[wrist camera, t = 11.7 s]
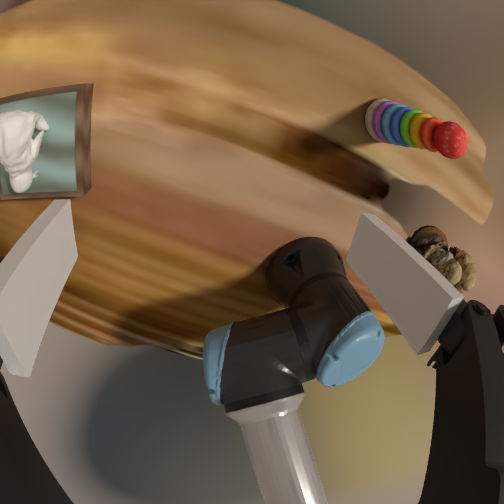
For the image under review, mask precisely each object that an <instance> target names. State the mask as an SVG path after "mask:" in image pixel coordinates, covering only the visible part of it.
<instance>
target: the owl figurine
mask: <svg viewBox="0 0 504 504" xmlns="http://www.w3.org/2000/svg"><path fill="white" fill-rule="evenodd" d="M408 244H409V245H410V246H412V247H413V248H414V249H415V250H416V251H417V252H418V253H419V254H420V255H422V256H423V257H424V258H425V259H426V260H427V261H428V262H429V263H430V264H431V265H432V266H433V267H434V268H435V269H437V270H438V271H439V272H440V273H441V274H442V275H443V276H444V277H445V278H446V279H447V280H448V281H449V282H450V283H451V284H452V285H453V286H454V287H455V288H456V289H457V290H458V291H459V292H460V293H462V292H464V291H469V290H470V289H472V287H473V285H474V284H475V278H476V271H475V268H474V262H473V259H472V257H471V256H470V255H469V254H467V253H466V252H465V251H464V250H463V251H461V250H460V249H458V248H457V247H454V248H453V247H450V249H449V250H450V251H448V248H447V247H448V243H447V239H446V236H445V235H444V233H443V232H442V231H441V230H439V229H438V228H436V227H434V226H424V227H421V228H419V229H418V230H416V231H415V233H414V234H413V236H412V237H411V239H410V240H409V242H408Z"/></svg>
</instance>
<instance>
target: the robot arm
mask: <svg viewBox="0 0 504 504" xmlns="http://www.w3.org/2000/svg"><path fill="white" fill-rule="evenodd" d="M77 258H78V254H77V248H76V242H75V235H74V228H73V220H72V212H71V203H70V199H62V200H54V201H53V202H52V203H51V204H50V205H49V206H48V207H47V208H46V209H45V210H44V212H43V213H42V214H41V215H40V216H39V217H38V218H37V219H36V220H35V221H34V223H33V224H32V225H31V226H30V227H29V228H28V229H27V231H26V232H25V233H24V234H23V235H22V236H21V238H20V239H19V240H18V241H17V243H16V244H15V245H14V246H13V248H12V249H11V250H10V251H9V253H8V254H7V255H6V256H5V258H1V259H0V369H1V366H2V363H3V362H4V364H5V366H6V367H7V369H8V370H9V372H10V373H11V374H14V375H19V376H23V377H28V378H30V375H31V372H32V368H33V365H34V362H35V359H36V356H37V353H38V350H39V347H40V344H41V341H42V339H43V336H44V333H45V330H46V328H47V325H48V323H49V320H50V317H51V315H52V313H53V310H54V308H55V305H56V303H57V301H58V298H59V296H60V294H61V291H62V289H63V287H64V285H65V283H66V280H67V278H68V276H69V274H70V272H71V270H72V268H73V266H74V264H75V262H76V260H77ZM346 262H347V263H348V264H349V266H350V267H351V268H352V269H353V271H354V272H355V273H356V274H357V276H358V277H359V278H360V279H361V281H362V282H363V283H364V284H365V286H366V287H367V288H368V290H369V291H370V292H371V293H372V295H373V296H374V297H375V299H376V300H377V301H378V302H379V304H380V305H381V306H382V308H383V309H384V310H385V312H386V313H387V314H388V316H389V317H390V318H391V320H392V321H393V322H394V324H395V325H396V326H397V328H398V329H399V331H400V332H401V333H402V335H403V336H404V337H405V339H406V340H407V341H408V343H409V344H410V346H411V347H412V349H413V350H414V351H415V353H416V354H417V355H419V354H422V353H425V352H428V351H430V349H431V348H432V346H433V345H434V343H435V342H436V341H437V340H438V341H439V343H440V344H441V345H440V346H439V348H438V349H437V351H436V352H435V353H434V355H433V356H432V357H431V359H430V360H429V362H428V364H427V366H430V365H431V363H432V362H433V361H436V363H435V364H434V365H433V367H432V368H435V369H436V397H435V411H434V423H433V432H432V440H431V447H430V454H429V460H428V466H427V471H426V476H425V481H424V486H423V491H422V495H421V498H420V501H419V503H418V504H504V354H503V352H502V346H503V345H504V305H500V306H499V307H498V309H497V310H496V312H495V314H491V312H490V310H489V309H488V308H487V307H486V306H485V305H483V304H482V303H480V302H478V301H476V300H470V301H469V302H468V303H466V302H465V300H463V297H464V296H463V295H462V294H461V293H460V292H459V291H458V290H457V289H456V288H455V287H454V286H453V285H452V284H451V283H450V282H449V281H448V280H447V279H446V278H445V277H444V276H443V275H442V274H441V273H440V272H439V271H438V270H437V269H435V268H434V267H433V266H432V265H431V264H430V263H429V262H428V261H427V260H426V259H425V258H424V257H423V256H422V255H420V254H419V253H418V252H417V251H416V250H415V249H414V248H413V247H412V246H410V245H409V244H408V243H407V242H406V241H405V240H404V239H402V238H401V237H400V236H399V235H398V234H397V233H395V232H394V231H393V230H392V229H391V228H390V227H388V226H387V225H386V224H385V223H384V222H382V221H381V220H380V219H379V218H377V217H376V216H375V215H374V214H368V213H361V216H360V219H359V222H358V225H357V228H356V231H355V235H354V238H353V241H352V244H351V247H350V250H349V252H348V255H347V258H346ZM266 283H267V286H268V289H269V291H270V294H271V295H272V297H273V298H274V300H275V301H276V302H278V303H279V304H280V305H282V306H283V307H284V308H285V309H283V310H279V311H276V312H272V313H269V314H265V315H262V316H258V317H254V318H251V319H247V320H243V321H239V322H231V323H230V324H228V325H225V326H222V327H218V328H215V329H213V330H211V331H210V332H209V333H208V334H207V335H206V337H205V340H204V346H203V365H204V374H205V380H206V385H207V388H208V391H209V396H210V399H211V401H212V402H213V403H214V404H215V405H219V406H222V405H223V404H224V407H225V411H226V415H227V416H229V417H230V418H232V419H234V420H236V421H237V422H238V423H239V424H240V425H241V429H242V432H243V436H244V439H245V442H246V446H247V449H248V452H249V455H250V459H251V462H252V465H253V468H254V472H255V475H256V478H257V481H258V484H259V487H260V490H261V493H262V496H263V499H264V502H265V504H328V501H327V498H326V495H325V492H324V489H323V486H322V482H321V479H320V476H319V473H318V469H317V466H316V463H315V460H314V457H313V454H312V450H311V447H310V444H309V441H308V438H307V434H306V431H305V428H304V425H303V422H302V418H301V415H300V412H299V405H300V403H301V401H302V399H303V397H304V395H305V393H304V389H303V386H302V383H303V382H305V381H309V380H312V379H315V378H317V380H318V381H319V382H320V383H321V384H322V385H324V386H328V387H330V386H339V385H342V384H344V383H347V382H349V381H350V380H352V379H354V378H355V377H357V376H359V375H360V374H361V373H362V372H364V371H365V370H366V369H367V368H368V367H369V366H370V365H371V364H372V363H373V362H374V361H375V359H376V358H377V357H378V355H379V354H380V352H381V350H382V347H383V344H384V332H383V329H382V327H381V326H380V324H379V322H378V320H377V319H376V316H375V314H374V313H373V312H372V311H371V310H370V309H369V307H368V306H367V305H366V303H365V302H364V301H363V299H362V298H361V297H360V295H359V294H358V293H357V291H356V290H355V289H354V287H353V286H352V285H351V283H350V282H349V281H348V279H347V277H346V273H345V269H344V265H343V261H342V258H341V256H340V254H339V252H338V251H337V250H336V248H335V247H334V246H333V245H332V244H331V243H330V242H328V241H327V240H324V239H322V238H317V237H306V238H301V239H298V240H295V241H293V242H291V243H289V244H287V245H286V246H284V247H283V248H282V249H280V250H279V251H278V252H277V253H276V254H275V256H274V257H273V258H272V260H271V262H270V263H269V266H268V268H267V272H266ZM0 504H74V503H73V502H72V501H71V500H70V498H69V497H68V496H67V494H66V493H65V492H64V490H63V489H62V487H61V486H60V485H59V483H58V481H57V480H56V479H55V477H54V476H53V474H52V472H51V471H50V470H49V468H48V466H47V465H46V463H45V462H44V460H43V458H42V457H41V455H40V453H39V451H38V450H37V448H36V446H35V444H34V442H33V441H32V439H31V437H30V435H29V433H28V431H27V429H26V427H25V425H24V423H23V421H22V419H21V417H20V415H19V413H18V411H17V408H16V406H15V404H14V402H13V399H12V397H11V394H10V392H9V389H8V387H7V384H6V382H5V379H4V377H3V375H2V374H1V372H0Z"/></svg>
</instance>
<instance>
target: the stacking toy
mask: <svg viewBox="0 0 504 504" xmlns="http://www.w3.org/2000/svg"><path fill="white" fill-rule="evenodd" d="M365 125H366V128H367V131H368V133H369V134H370V135H371V137H372V138H374V139H375V140H377V141H379V142H382V143H389V144H395V145H401V146H404V147H414V148H420V149H427V150H429V151H432V152H437V151H439V152H440V153H441V154H442V155H443V156H445V157H447V158H450V159H457V158H460V157H461V156H463V155H464V153H465V152H466V150H467V147H468V138H467V135H466V133H465V131H464V129H463V128H462V127H461V126H460V125H458V124H457V123H454V122H442V121H441V120H440V119H438V118H436V117H432V116H431V115H429V114H427V113H423V112H422V111H420V110H416V109H413V108H411V107H407V106H405V105H403V104H399V103H398V102H395V101H391V100H389V99H378V100H375V101H374V102H373V103H372V104H371V105H370V106H369V107H368V109H367V111H366V115H365Z"/></svg>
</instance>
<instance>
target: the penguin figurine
mask: <svg viewBox="0 0 504 504" xmlns="http://www.w3.org/2000/svg"><path fill="white" fill-rule="evenodd" d="M35 127H36V129H37V130H40V131H41V132H40V133H39V134H38V135H37V136H36V138H35V139H34V140H32V135H33V132H34V129H35ZM48 129H49V125H48V124H47V122H46V121H45V119H44V118H43V116H42V115H41V114H39V113H35V112H33V111H29V112H25V111H24V112H23V111H21V110H16V111H10V112H5V113H1V114H0V163H1V164H2V165H3V166H4V168H5V170H6V171H7V172H8V173H9V175H10V177H9V180H10V185H11V187H12V189H13V191H15V192H16V193H23V192H25V191H26V190H28V189H29V188H30V186H31V184H32V180H33V178H34V177H37V175H36V172H37V171H38V170H37V171H36V172H35V173H34V174H33V173H32V166H33V164H34V163H35V160H36V158H37V156H38V153H39V149H40V145H41V142H42V138H43V135H44V131H47V130H48ZM35 170H36V169H35Z"/></svg>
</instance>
